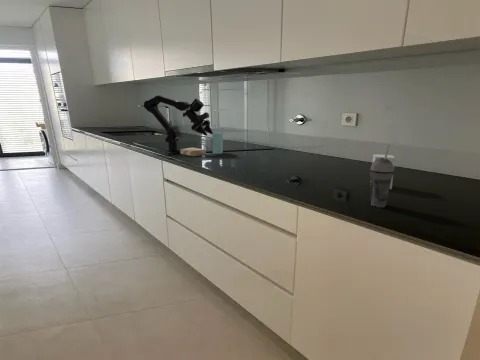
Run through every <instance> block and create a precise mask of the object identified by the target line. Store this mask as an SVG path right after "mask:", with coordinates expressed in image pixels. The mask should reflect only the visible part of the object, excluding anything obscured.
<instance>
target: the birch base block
mask: <svg viewBox="0 0 480 360" xmlns="http://www.w3.org/2000/svg"><path fill="white" fill-rule="evenodd" d="M179 152H180V154H181V155H185V156H191V157H196V156H204V155H205V156H206V155H207V153H206V152H207V150H206V149H203V148H198V147H187V148H186V147H185V148H180V149H179Z"/></svg>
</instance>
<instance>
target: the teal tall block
mask: <svg viewBox="0 0 480 360" xmlns="http://www.w3.org/2000/svg"><path fill="white" fill-rule="evenodd" d="M223 134H224V133H223V132H213V134H212V154H215V155H216V154H217V155H218V154H219V155H221V154H223V153H224V145H223V144H224V140H223V138H224V135H223Z"/></svg>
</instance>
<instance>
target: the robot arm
mask: <svg viewBox="0 0 480 360" xmlns="http://www.w3.org/2000/svg"><path fill="white" fill-rule="evenodd" d="M160 103H162V104H164V105H165V104H166V105H168V106H171V107H174V108H175V109H177V110H179V111H180V112H182V117H183V118H185V117H187V118H188V119H189V121H190V124H192V125H191V131H194V132H196V133H199V134H201V135H203V136H205V137H206V136H208V134H210V135H213V133H214V132H213V130H212V128H211V126H210V125H211V121H210V120H209V118H210V113H209V112H203V113H201V114H198V112H200V111H201V109H203V107H204V106H205V105H204V103H203V102H202V101H201V100H200V99H198V98H194V100H193V101H192V102H191V103H189V102H188V101H182V100H176V99H173V98H172V99H171V98H169V97H165V96H163V95H155V96H154V97H152V98H150V99H149V100H145V101H144V103H143V108H144V109H145V110H147V112H149V113H151V114H152V115H153V117H154V118H155V119H156V120H157V121H158V123H160V125H161V126H162V128H163V129H164V130H165V131H166V135H167V136H166V137H165V138H164V140H165V143H167V149H166V151H167V152H177V151H179V152H180V149H178V141H179V139H180V138H181V132H180V129H178V128H177V126H172V125H171V124H170V123H169V121H168V120H167V119H166V116H164V115H163V114H162V112H161V111H160V110H159V107H158V106H159V104H160ZM207 133H208V134H207Z"/></svg>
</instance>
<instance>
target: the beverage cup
mask: <svg viewBox="0 0 480 360" xmlns="http://www.w3.org/2000/svg"><path fill="white" fill-rule="evenodd" d="M389 150H390V144H387V146H386V152H385V154H384V155H385V158H379V159H377V160H375V161H374V162H373V161H372V163H371V166H370V169H369V173H370V174H369V175H370V183H371V184H370V206H372V205H373V206H372V207H374V206H376V207H375V208H385V206H387V202H388V198H389V194H390V193H389V192H390V190H389V189H390V184H391V179H392V177H393V178H394V173H395V165H394V166H393V164H392V162H391V161H390V160H388V159H386V158H387V155H389V153H388V152H389Z"/></svg>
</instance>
